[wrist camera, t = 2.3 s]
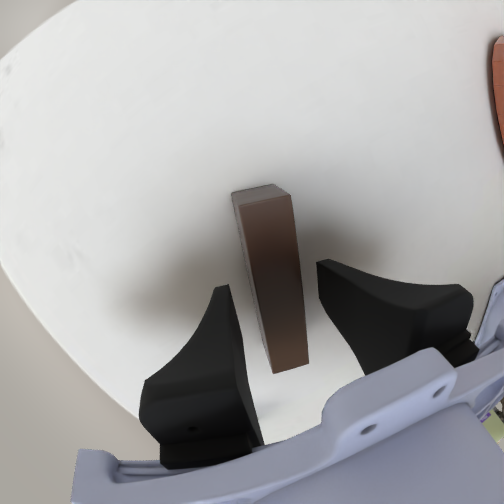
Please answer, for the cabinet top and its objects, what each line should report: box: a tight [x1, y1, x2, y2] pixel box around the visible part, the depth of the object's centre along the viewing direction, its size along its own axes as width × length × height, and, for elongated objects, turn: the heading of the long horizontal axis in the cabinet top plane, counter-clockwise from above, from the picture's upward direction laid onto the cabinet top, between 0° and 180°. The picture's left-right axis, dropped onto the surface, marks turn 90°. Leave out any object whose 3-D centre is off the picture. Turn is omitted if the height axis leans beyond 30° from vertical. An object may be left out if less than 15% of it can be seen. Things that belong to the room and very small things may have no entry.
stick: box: [231, 184, 309, 374], centre depth 13 cm, size 9×2×2 cm, turn 10°
